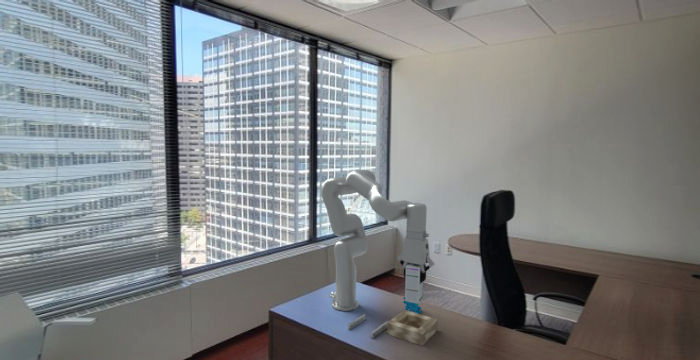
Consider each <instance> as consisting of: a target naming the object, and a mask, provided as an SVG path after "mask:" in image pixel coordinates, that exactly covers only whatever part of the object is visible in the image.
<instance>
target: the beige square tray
mask: <svg viewBox="0 0 700 360" xmlns="http://www.w3.org/2000/svg"><path fill="white" fill-rule="evenodd" d="M438 321H439V319H437V318H433V317H430V316H427V315H423V314H422V313H420V314H417V313H416V312H415V313H414V312H413V311H412V312H410V311H408V310H402V311H401V312H399V314H397V315H396V316H394V317H393V318H392V319H390V320H389V321H387V322H388V323H387V328H386V334H387V335H389V336H392V337H395V338H398V339H401V340H404V341H406V342H410V343H413V344H415V345H418V346H424V345H425V344H426V342H428V340H429V339H430V338H431V337H433V335H435V333H436V332H437V331H438V327H439V326H438V324H439V323H438Z"/></svg>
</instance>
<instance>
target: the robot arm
mask: <svg viewBox="0 0 700 360" xmlns="http://www.w3.org/2000/svg"><path fill="white" fill-rule="evenodd" d="M376 179H377V178H376V175H375V173H374V172H373V171H371V170H368V169H359V170H358V169H357V170H352V171H350V172H349V173H348V174H347V175H346V176H336V177H335V176H334V177H330V178H328V179H326V180H325V181H323V183H322V186H321V190H320V192H321V193H320V194H321V198H322V200H323V203H324V206H325V208H326V213H327V217H328V220H329V225H330V228H331V231H332V233H333V235H335V236H337V237H343V236H347V235H349V236H348V237H346V238H341V239H340V240H338V241H337V242H336V243H335V244H334V246H333V254H334V260H335V291H334V292H333V291H331V292H330V295H329V298H330V299H332V301H331V307H332V308H333V309H335V310H337V311H340V312H341V311H342V312H351V311H354V310H356V309H358V308H359V307H360V302H359V300H357V266H356V265H357V264H356V262H355V260H354V259H355V258H357V257H359V256H363V255H364V254H366V253H367V252H368V248H369V243H368V238H367V235H366V231H365V228H364V225H363V222H362V219H361V218H360V217H359V215H358V214H356V213H347V211H346V206H345V203H344V202H343V201H342V199H341V198H340V197H339V196H344V195H346V196H347V195H353V194H356V193H358V195H360V196H362V197H363V198H365V200H367V201H368V203H369V205H370V207H371V209H372V210H373V212H375V213H376V214H377V215H378V216H380V217H381V218H383V219H384V220H386V221H388V222H396V221H397V222H398V221H401V220H406V231H405V232H406V233H405V234H406V236H404V240H403V243H402V244H403V245H402V251H401V253H399V254H398V255H397V256H396V259H397V261H398V262H399V263H400V265H401V267H402V268H403V279H404V280H406V266H407V265H408V264H409V263H412V264H417V265H420V267H421V270H422V272H421V273H420V282H423V283H424V282H425V281H426V280H427V279H426V278H427V271H428V270H429V269H431V268H433V266H435V263H434V261H433V260H432V258H431V257H430V246H429V245H430V244H429V239H428V238H429V237H430V234H429V233H427V209H428V208H427V205H426V204H425V203H421V202H412V201H409V200H405V199H403V200H396V201H392V202H391V200H388V199H387V198H385V197H384V196H383V195H382V192H383V186H382V185H381V183H379V182H377V181H376ZM427 264H428V265H427Z"/></svg>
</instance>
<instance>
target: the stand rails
mask: <svg viewBox="0 0 700 360" xmlns="http://www.w3.org/2000/svg"><path fill="white" fill-rule="evenodd" d="M366 315H367V314H364V313H363V314H362V315H360V316H359V317H356V318H355V319H354V320H352V321H351V322H349V323H348V324H347V330H348V331H351V330H353V328H355V327H356V326H358V325H359V324H361V323H362V322H364V321H366V318H367V316H366ZM388 322H389V321H385V322H383V323H382V324H381V325H379V326H378V327H376V328H375V329H374V330H373V331H370V338H371V339H374V338H376V337H377V336H378V335H380V334H381V333H382V332H384V331H385V330H387V323H388Z"/></svg>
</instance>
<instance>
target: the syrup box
mask: <svg viewBox="0 0 700 360" xmlns="http://www.w3.org/2000/svg"><path fill="white" fill-rule="evenodd" d="M421 272H422V270H421V267H420V265H417V264H412V263H409V264H408V265H407V266H406V279H405V284H404V285H405V289H404V290H405V291H404V293H405V294H404V295H405V296H404V297H405V301H407V302H412V303H417V304H419V305H420V304H421V301H422V300H423V299H424V281H423V282H420V273H421Z"/></svg>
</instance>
